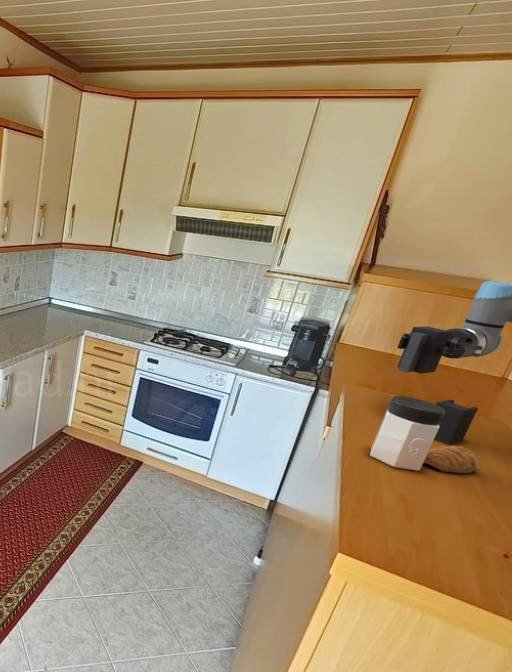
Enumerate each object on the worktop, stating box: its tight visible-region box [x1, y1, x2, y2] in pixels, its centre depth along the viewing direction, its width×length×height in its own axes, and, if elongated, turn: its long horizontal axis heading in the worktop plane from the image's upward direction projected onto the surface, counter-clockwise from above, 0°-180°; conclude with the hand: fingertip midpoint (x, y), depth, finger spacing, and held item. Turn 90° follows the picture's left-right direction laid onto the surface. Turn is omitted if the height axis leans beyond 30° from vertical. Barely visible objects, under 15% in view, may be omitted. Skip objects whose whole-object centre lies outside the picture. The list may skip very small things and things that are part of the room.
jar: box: [369, 395, 445, 472], centre depth 94 cm, size 9×8×12 cm
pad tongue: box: [396, 325, 452, 375], centre depth 115 cm, size 10×5×10 cm, turn 117°
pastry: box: [423, 445, 479, 474], centre depth 95 cm, size 9×7×4 cm
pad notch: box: [434, 398, 479, 445], centre depth 109 cm, size 7×5×8 cm
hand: (415, 346), depth 113 cm, fingers closed on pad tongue, 5 cm apart
